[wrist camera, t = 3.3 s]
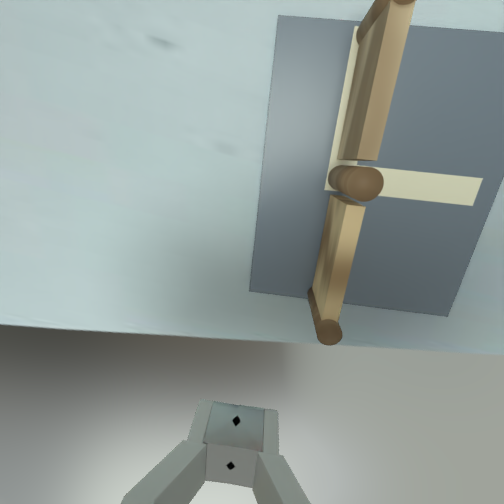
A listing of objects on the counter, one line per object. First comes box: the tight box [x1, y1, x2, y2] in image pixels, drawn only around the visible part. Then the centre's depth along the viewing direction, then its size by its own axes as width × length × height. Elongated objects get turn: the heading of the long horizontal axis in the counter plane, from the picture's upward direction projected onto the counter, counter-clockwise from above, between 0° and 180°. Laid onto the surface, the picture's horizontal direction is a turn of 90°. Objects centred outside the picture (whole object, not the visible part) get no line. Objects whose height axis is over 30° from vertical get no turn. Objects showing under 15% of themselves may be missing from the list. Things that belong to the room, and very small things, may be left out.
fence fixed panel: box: [328, 0, 416, 202], centre depth 17 cm, size 2×12×7 cm, turn 174°
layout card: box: [249, 15, 504, 317], centre depth 22 cm, size 19×22×1 cm
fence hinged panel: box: [307, 195, 366, 345], centre depth 21 cm, size 10×2×6 cm, turn 174°
